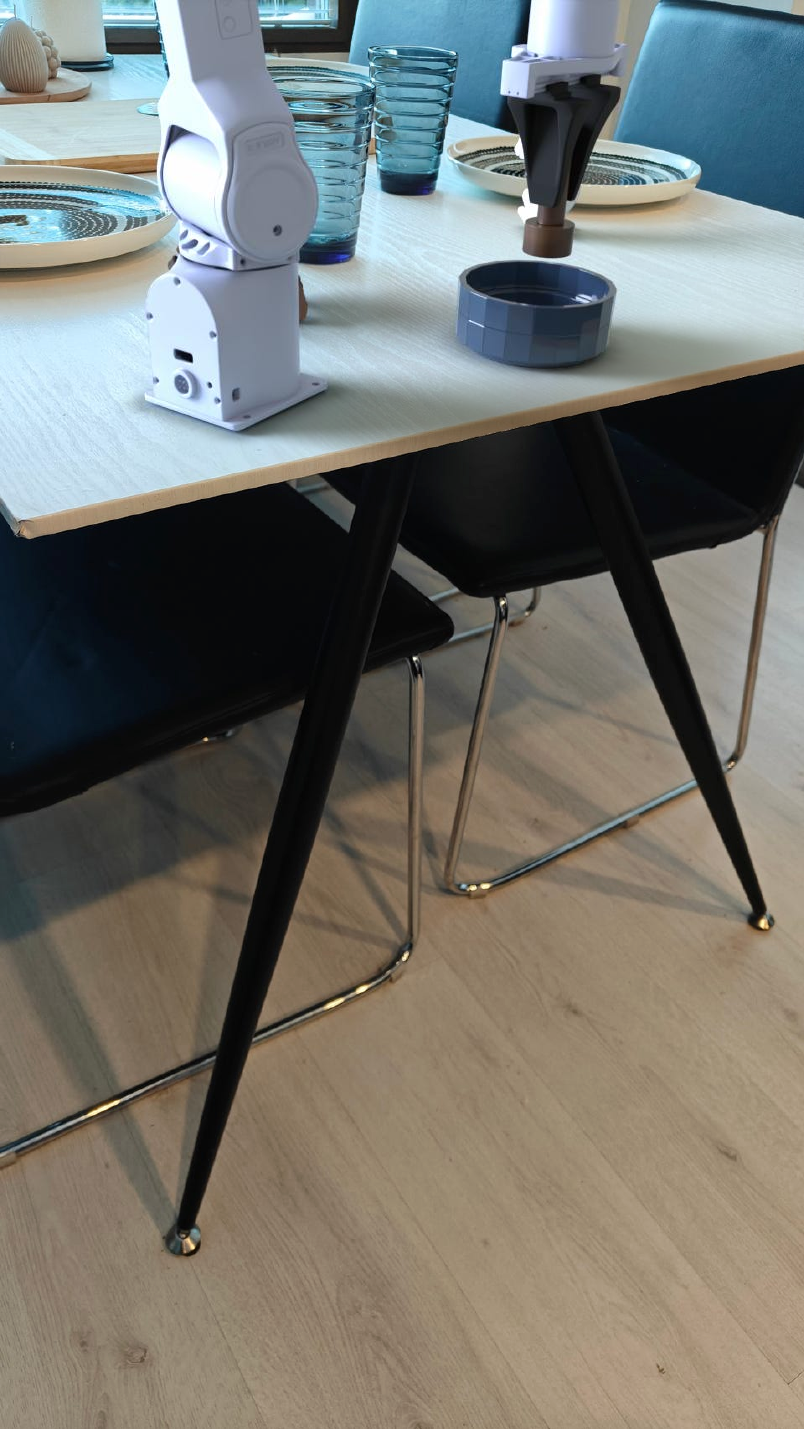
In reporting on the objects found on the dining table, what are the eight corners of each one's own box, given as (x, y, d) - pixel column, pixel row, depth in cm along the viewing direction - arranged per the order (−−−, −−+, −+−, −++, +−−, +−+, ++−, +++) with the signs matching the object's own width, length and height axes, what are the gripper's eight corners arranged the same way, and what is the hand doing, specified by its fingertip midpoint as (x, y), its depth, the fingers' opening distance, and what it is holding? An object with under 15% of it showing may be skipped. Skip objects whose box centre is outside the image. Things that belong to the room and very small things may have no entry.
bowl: (562, 384, 76) (571, 319, 73) (425, 346, 81) (429, 284, 78) (631, 341, 83) (641, 280, 81) (502, 309, 88) (508, 251, 86)
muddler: (557, 261, 78) (573, 128, 73) (513, 252, 79) (526, 121, 74) (579, 251, 80) (597, 122, 75) (536, 242, 82) (550, 114, 77)
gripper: (574, -37, 76) (550, 175, 84) (466, -30, 66) (451, 210, 75) (668, -29, 73) (634, 191, 81) (570, -20, 63) (542, 229, 72)
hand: (552, 201), depth 78 cm, fingers closed on muddler, 2 cm apart
